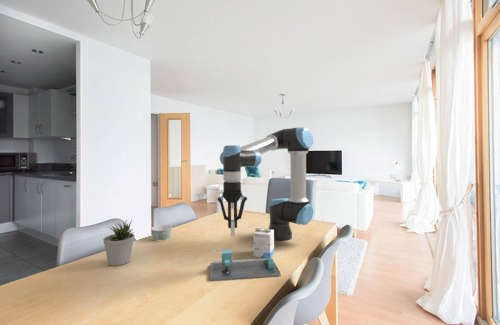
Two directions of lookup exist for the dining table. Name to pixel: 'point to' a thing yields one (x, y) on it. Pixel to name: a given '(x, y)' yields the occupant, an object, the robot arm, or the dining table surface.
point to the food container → (161, 232)
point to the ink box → (263, 243)
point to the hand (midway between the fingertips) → (232, 235)
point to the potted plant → (119, 245)
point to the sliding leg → (227, 258)
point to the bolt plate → (244, 269)
